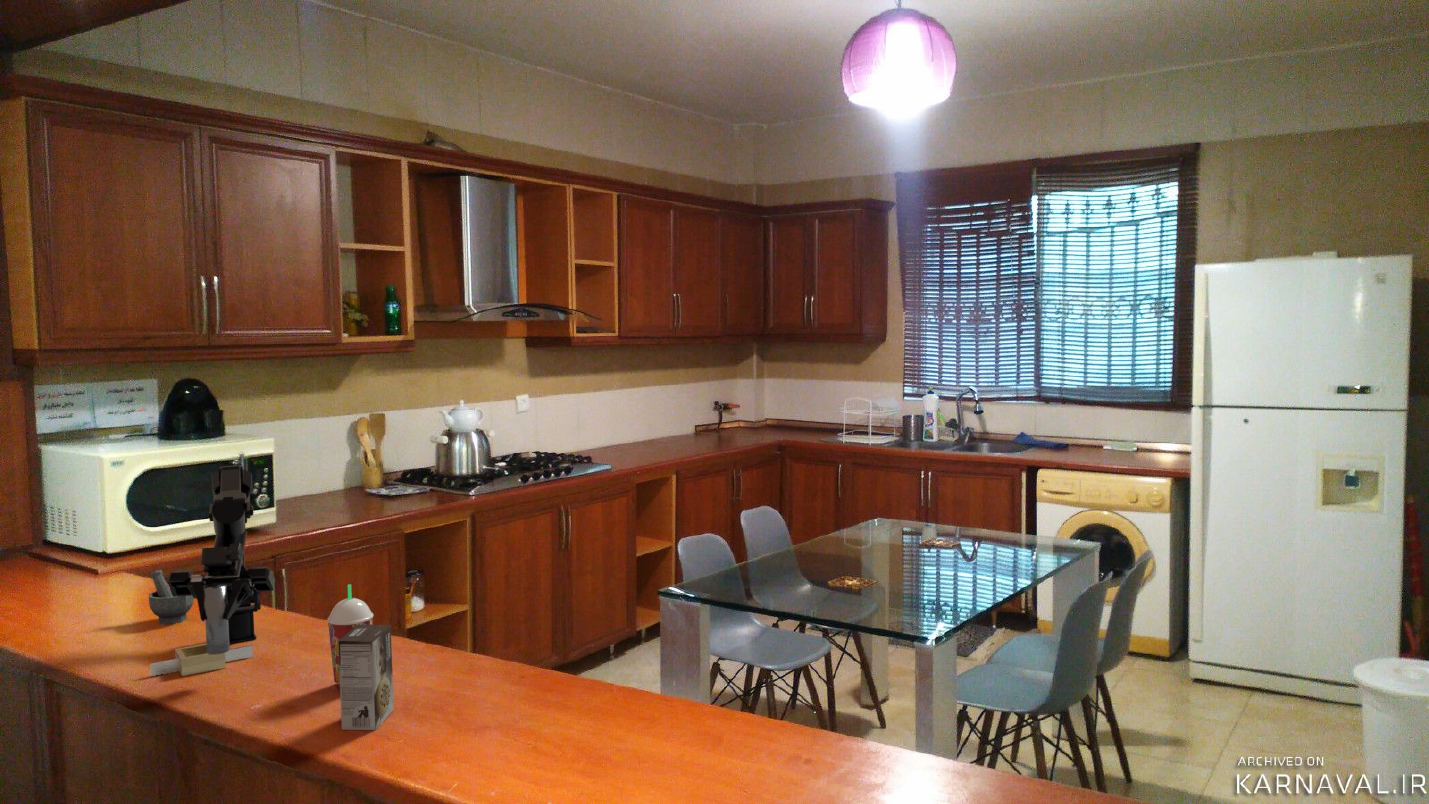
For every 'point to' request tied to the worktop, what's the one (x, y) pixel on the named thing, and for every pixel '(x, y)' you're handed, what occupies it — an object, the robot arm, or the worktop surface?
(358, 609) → the smoothie
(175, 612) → the mortar and pestle
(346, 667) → the coffee box
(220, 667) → the bracket
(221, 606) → the hinge pin
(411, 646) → the worktop surface
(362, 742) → the worktop surface
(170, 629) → the worktop surface
